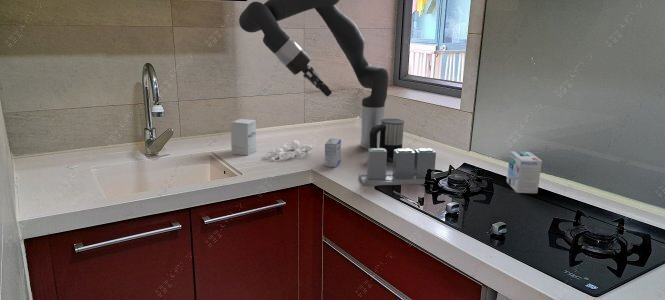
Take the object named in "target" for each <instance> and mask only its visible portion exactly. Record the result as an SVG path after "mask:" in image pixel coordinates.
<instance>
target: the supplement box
mask: <svg viewBox="0 0 665 300" xmlns="http://www.w3.org/2000/svg"><path fill="white" fill-rule="evenodd" d="M230 141H231V142H230V143H231V147H230V148H231V154H232V155H241V156H242V155H243V156H249V155H251V154H254V152H256V151H257V120H255V119H247V118H239V119H236V120H234V121H231V122H230Z"/></svg>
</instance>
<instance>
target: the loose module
mask: <svg viewBox="0 0 665 300" xmlns="http://www.w3.org/2000/svg"><path fill="white" fill-rule="evenodd" d="M387 162H388V161H387V151H386V149H385V148H371V149H367V168H366V169H367V170H366V171H367V172H366V174H367V177H368V179H386V174H387Z"/></svg>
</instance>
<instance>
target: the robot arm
mask: <svg viewBox="0 0 665 300" xmlns="http://www.w3.org/2000/svg"><path fill="white" fill-rule="evenodd" d="M339 2H340V0H267V1H265V2H264V3H262V2H260V1H252V2H250V3H248V5H247V7H245V8H244V10H243V11H242V12H241V14H240V15H239V18H238V25H239V26H240V28H241V29H242V30H243V31H245V32H247V33H251V34H252V33H257V32H259V31H261V32H262V33H263V38H262V41H263V43H264V45H265V46H266V47H267V48H268V49H269V50H270V52H272V54H274V56H276V57H277V60H279V62H281V63H282V64H283V65H284V67H285V68H287V69H288V70H289V71H290V73H291V74H293V75H294V76H297V75H298V74H300V72H302V73H303V75H302V76H303V78H304V79H306V80H307V81H308V82H309V83H310V84H311V85H312V86H315V88H316V89H319V91H321V93H323V94H324V96H325V97H327V98H328V97H330V96H331V94H332V93H333V91H332V90H331V89H330V87H329V86H328V85H327V84H326V83H325V82H324V81H323V80H322V78H321V76H320V75H319V73H317V72H316V69H315V68H314V67H312V66H311V67H310V66H309V65H308V64H309V63H310V62H311V59H312V58H311V56H310V55H309V54H308V53H307V52H306V51H305V50H304V49H303V48H302V47H301V46H300V45H299V44H298V43H297V42H296V41H295V40H293V39H292V38H291V37H290V36H289V35H288V34H287V33H286V32H285V31H284V30H283V29H282V28H281V26H280V25H279V23H278V22H279V21H282V20H284V19H288V18H290V17H292V16H296V15H298V14H302V13H303V12H306V11H310V10H313V9H315V11H316V12H317V14H318V15H319V16H320V17H321V19H322V20H323V22H324V23H325V24H326V26H327V27H328V29H329V31H330V32H331V34H332V36H333V37H334V39H335V41H336V42H337V44H338V46H339V48H340V49H341V51H342V52H343V54H344V55H345V57H346V59H347V61H348V62H349V64H350V66H351V67H352V70H353V72H354V74H355V77H356V78H357V79H356V80H358V82H359V84H360V85H361V86H362V87H363V88H365V89H369V90H371V92H370V95H369V96H364V98H362V99H361V100H362V101H361V121H360V124H361V125H360V147H361V148H363V149H367V150H368V149H370V131H371V129H372V128H373V127H374V126H376V125H381V120H382V119H385V104H386V100H387V98H388V86H389V71H388V70H387V68H385V67H384V66H377V65H371V64H370V63H369V62H368V61H367V59H366V57H365V54H364V51H365V39H364V37H363V35H362V32H361V31H360V29H359V27H358V26H357V25H356V23H355V22H354V21H353V20H352V19H351V18H350V17H348V16H347V15H346V14H344V13H343V12H342V11H340V9H339V8H338V7H337V6H336V5H337V4H338V3H339ZM379 144H380V131H379V132H378V134H377V148H379Z"/></svg>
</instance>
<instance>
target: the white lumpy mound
mask: <svg viewBox="0 0 665 300" xmlns="http://www.w3.org/2000/svg"><path fill="white" fill-rule="evenodd" d="M288 147H290V148H291V149H292V150H293V151H290V150H289V151H288ZM312 150H313V147H312V146H311V145H309V144H302V145H301V144H300V142H299V141H298V140H295V139H294V140H292V141H291V142H290V143H289V141H286V143H285V144H283V145H281V146H279V147H277V148H276V149H272V150H271V151H268V152H266V153H264V154H265V159H267V160H269V161H271V162H277V163H278V162H284V161H285V160H289V159H292V158H293V159H301V158H302V157H304V156H309V155H311V154H312ZM308 152H309V153H308ZM284 157H285V158H284ZM276 159H278V160H276Z"/></svg>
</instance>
